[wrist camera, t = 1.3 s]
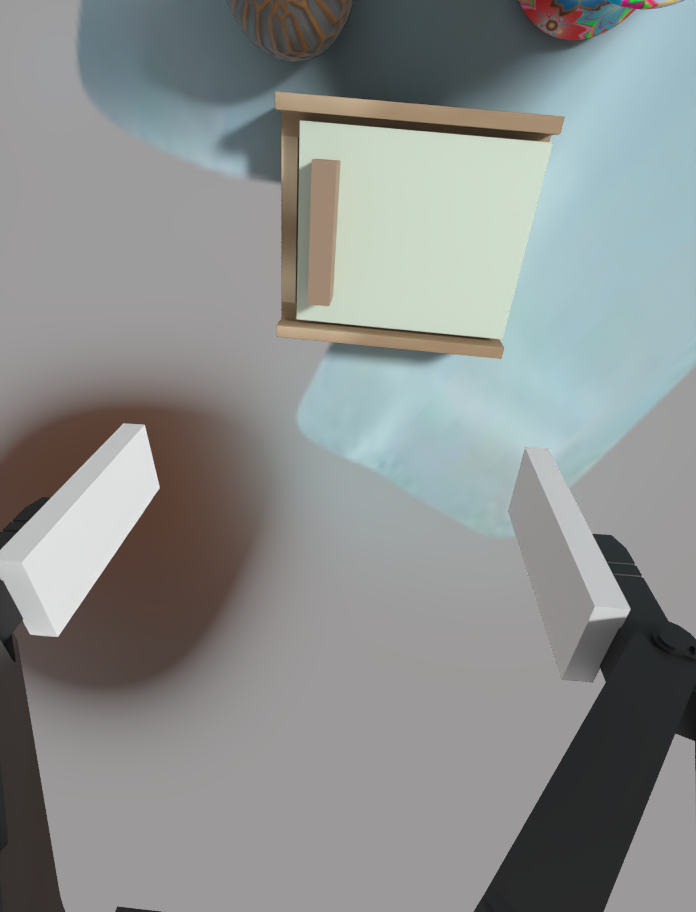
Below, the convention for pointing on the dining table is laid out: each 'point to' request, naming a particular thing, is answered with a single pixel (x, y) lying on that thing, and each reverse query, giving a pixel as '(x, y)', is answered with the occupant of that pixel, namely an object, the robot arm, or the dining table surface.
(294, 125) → the box
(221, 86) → the dining table surface
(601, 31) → the mug
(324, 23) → the vase
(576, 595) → the robot arm
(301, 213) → the lid
